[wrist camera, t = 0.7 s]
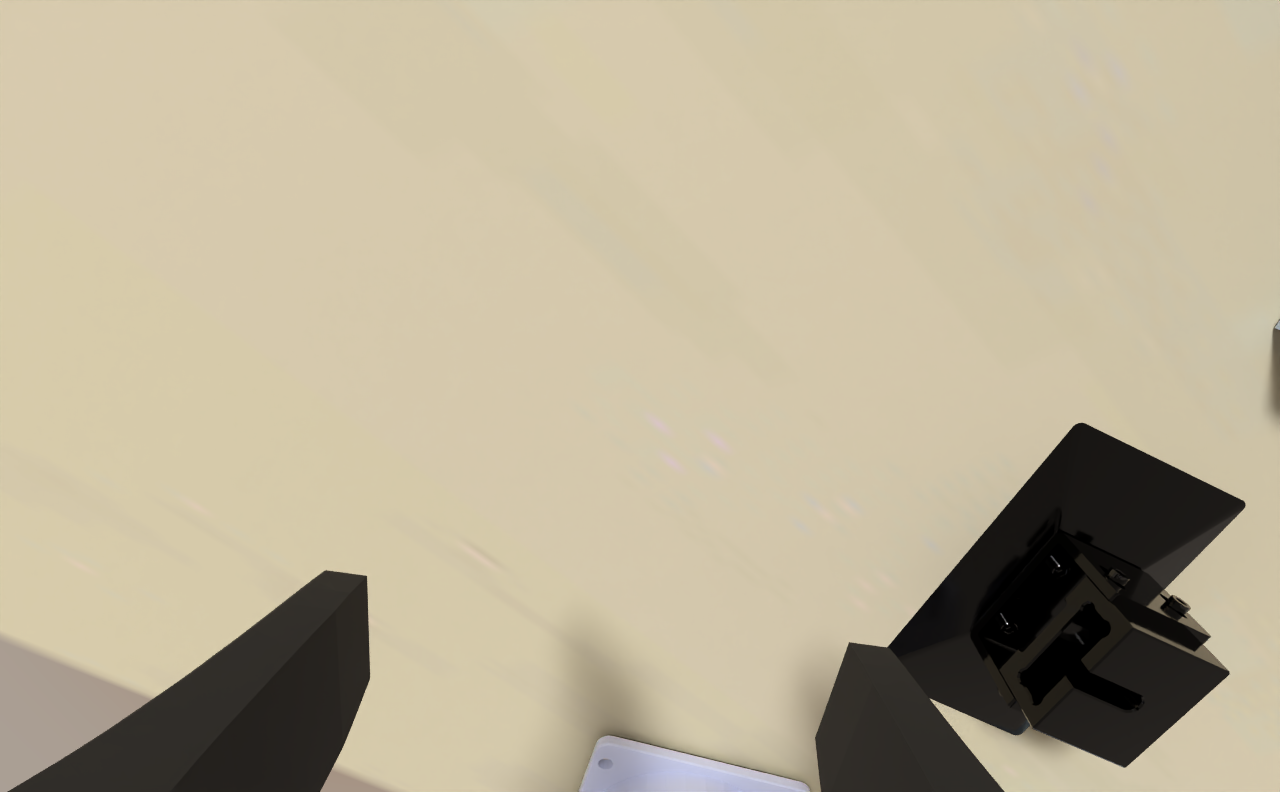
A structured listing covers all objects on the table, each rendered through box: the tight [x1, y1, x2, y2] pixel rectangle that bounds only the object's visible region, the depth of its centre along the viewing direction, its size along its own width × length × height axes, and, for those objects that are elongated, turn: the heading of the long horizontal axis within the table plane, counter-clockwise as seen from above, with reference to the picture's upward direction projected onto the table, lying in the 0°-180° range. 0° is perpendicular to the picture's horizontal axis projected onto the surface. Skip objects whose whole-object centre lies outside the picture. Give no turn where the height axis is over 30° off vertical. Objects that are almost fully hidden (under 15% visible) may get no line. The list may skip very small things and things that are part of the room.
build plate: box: [887, 423, 1245, 768], centre depth 20 cm, size 13×8×5 cm, turn 154°
